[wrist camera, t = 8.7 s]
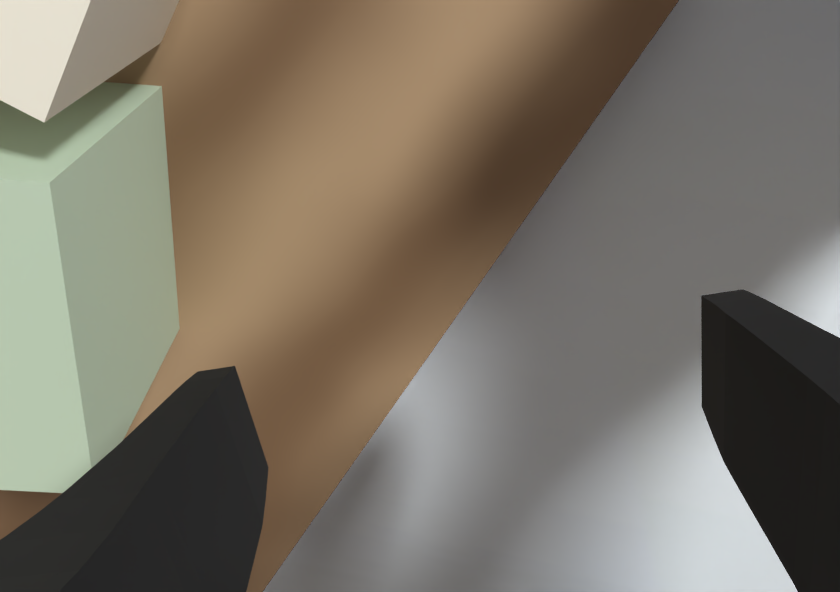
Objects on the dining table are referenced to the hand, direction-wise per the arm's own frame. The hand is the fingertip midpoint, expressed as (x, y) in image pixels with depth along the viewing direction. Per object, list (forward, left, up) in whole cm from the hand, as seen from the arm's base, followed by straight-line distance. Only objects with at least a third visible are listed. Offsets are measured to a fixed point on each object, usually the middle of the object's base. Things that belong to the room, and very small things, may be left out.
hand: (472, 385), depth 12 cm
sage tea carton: (+8, +5, -8) cm, 12 cm away
